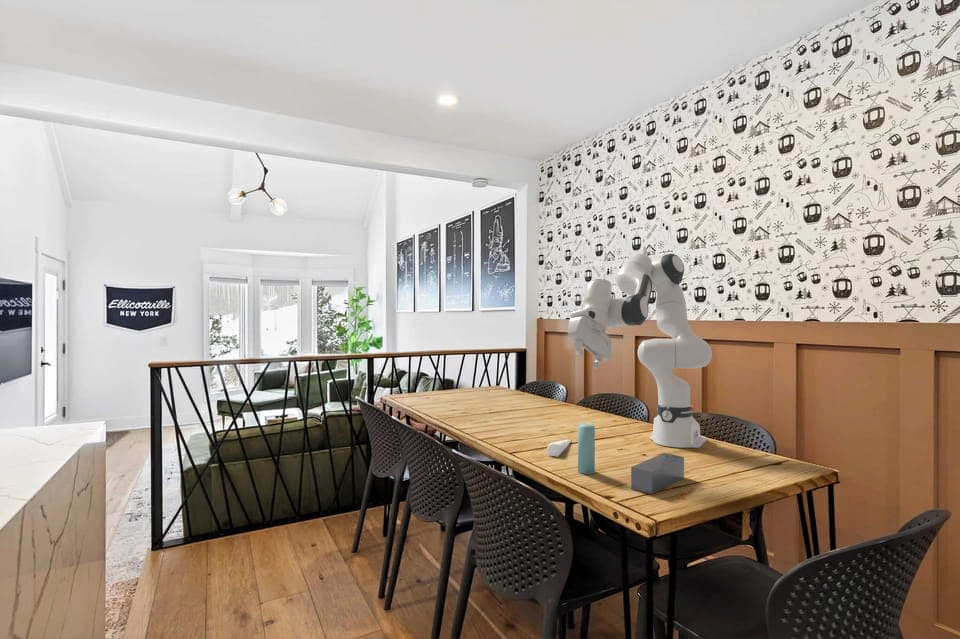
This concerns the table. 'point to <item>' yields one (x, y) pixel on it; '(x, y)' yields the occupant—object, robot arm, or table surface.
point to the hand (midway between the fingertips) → (587, 361)
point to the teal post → (586, 449)
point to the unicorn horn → (557, 447)
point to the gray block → (657, 473)
